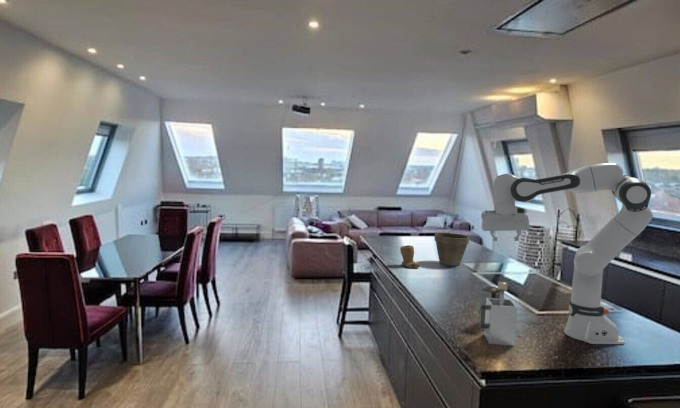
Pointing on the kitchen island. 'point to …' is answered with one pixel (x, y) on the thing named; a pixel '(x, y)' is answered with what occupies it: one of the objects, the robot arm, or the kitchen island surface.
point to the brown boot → (408, 256)
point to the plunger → (502, 291)
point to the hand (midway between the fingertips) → (505, 241)
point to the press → (499, 321)
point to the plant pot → (451, 247)
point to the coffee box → (488, 295)
